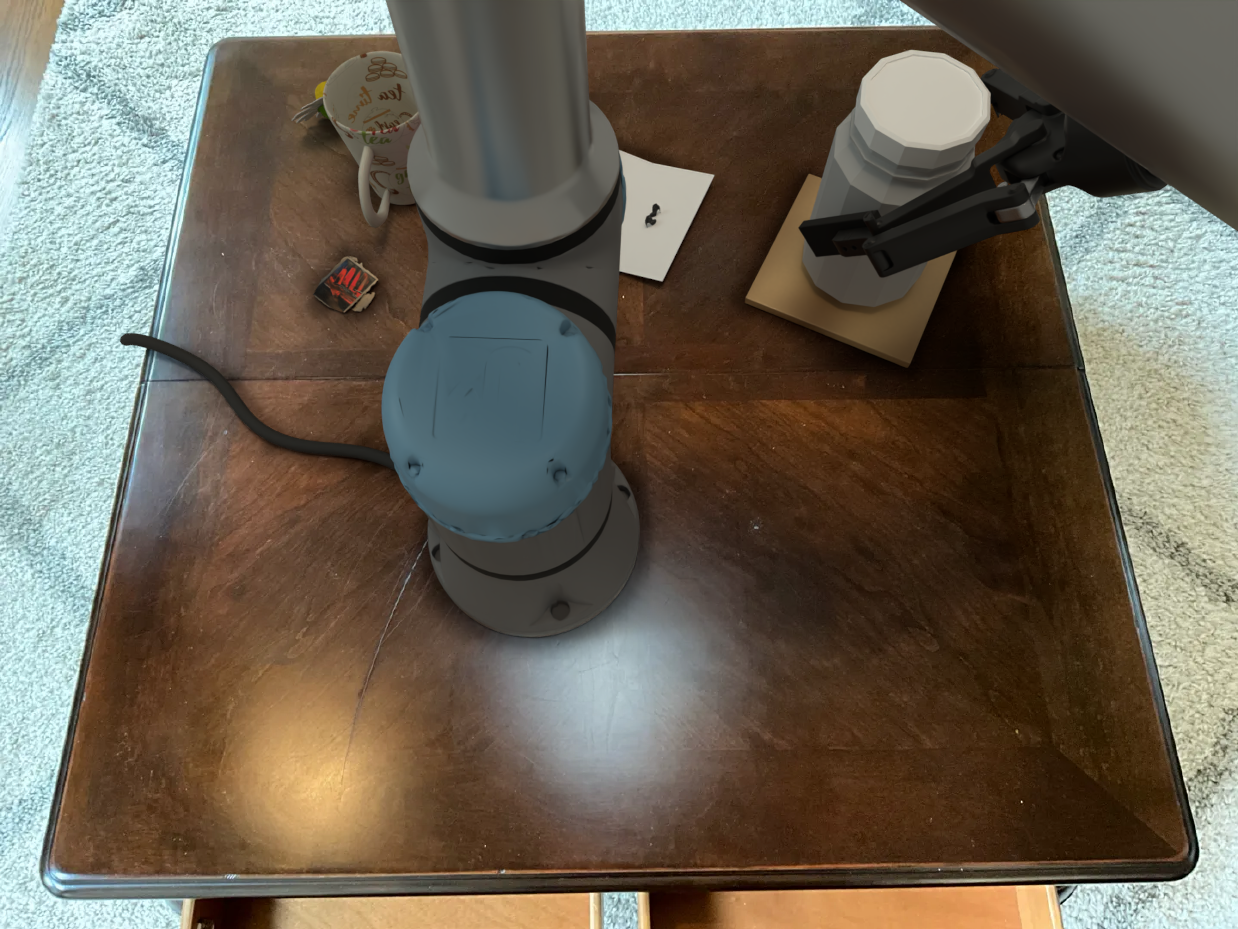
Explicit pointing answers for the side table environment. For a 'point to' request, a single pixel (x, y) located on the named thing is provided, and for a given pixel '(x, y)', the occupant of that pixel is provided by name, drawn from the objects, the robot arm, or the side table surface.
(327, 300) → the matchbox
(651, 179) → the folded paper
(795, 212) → the cork mat
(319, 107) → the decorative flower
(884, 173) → the jar
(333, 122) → the mug
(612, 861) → the side table surface
